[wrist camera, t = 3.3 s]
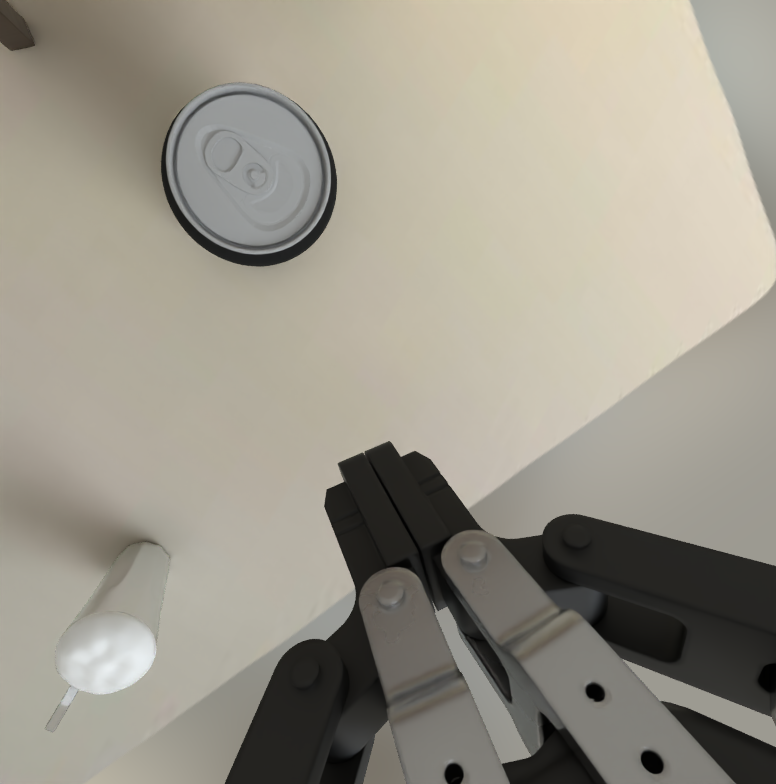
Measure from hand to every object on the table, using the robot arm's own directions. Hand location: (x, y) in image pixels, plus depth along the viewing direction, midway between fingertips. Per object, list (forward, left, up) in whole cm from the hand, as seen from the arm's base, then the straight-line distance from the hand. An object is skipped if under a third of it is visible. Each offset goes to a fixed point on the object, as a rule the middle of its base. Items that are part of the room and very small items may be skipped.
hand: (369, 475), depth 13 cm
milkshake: (-4, -18, -20) cm, 27 cm away
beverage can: (-7, +6, -20) cm, 22 cm away
